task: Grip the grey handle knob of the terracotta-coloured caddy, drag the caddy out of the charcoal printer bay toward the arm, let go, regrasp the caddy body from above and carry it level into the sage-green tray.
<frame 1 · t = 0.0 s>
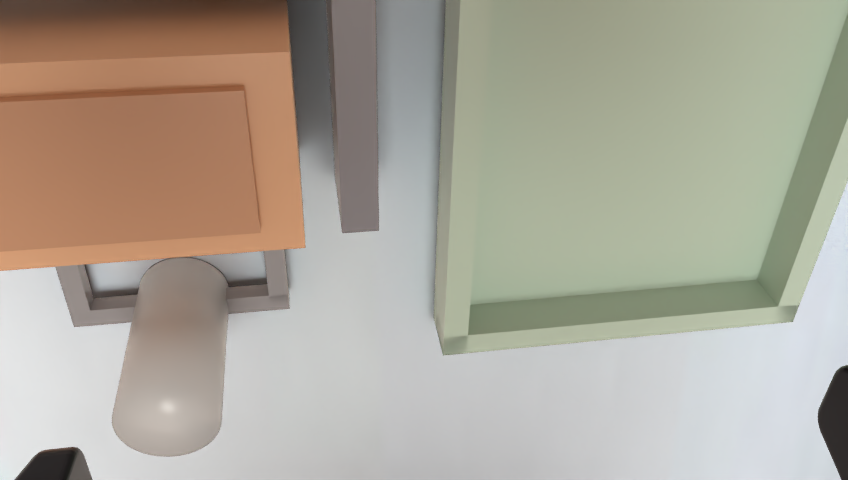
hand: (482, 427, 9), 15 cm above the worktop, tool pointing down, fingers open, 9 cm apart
tray: (645, 99, 24), on the worktop
caddy: (141, 74, 21), on the worktop
printer bay: (138, 58, 21), on the worktop
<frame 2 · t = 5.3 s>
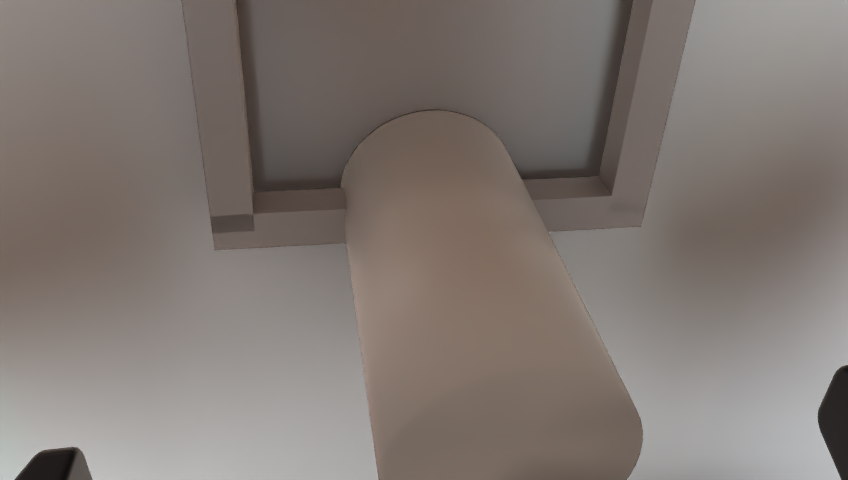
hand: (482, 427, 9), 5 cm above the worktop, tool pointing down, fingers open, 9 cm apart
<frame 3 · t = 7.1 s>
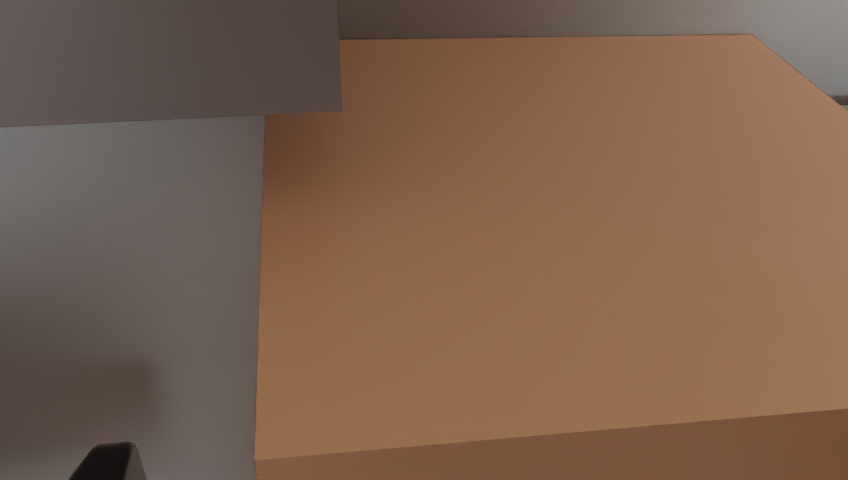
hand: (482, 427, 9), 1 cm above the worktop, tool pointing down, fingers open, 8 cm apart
caddy: (484, 332, 10), on the worktop, touching gripper
printer bay: (11, 386, 10), on the worktop
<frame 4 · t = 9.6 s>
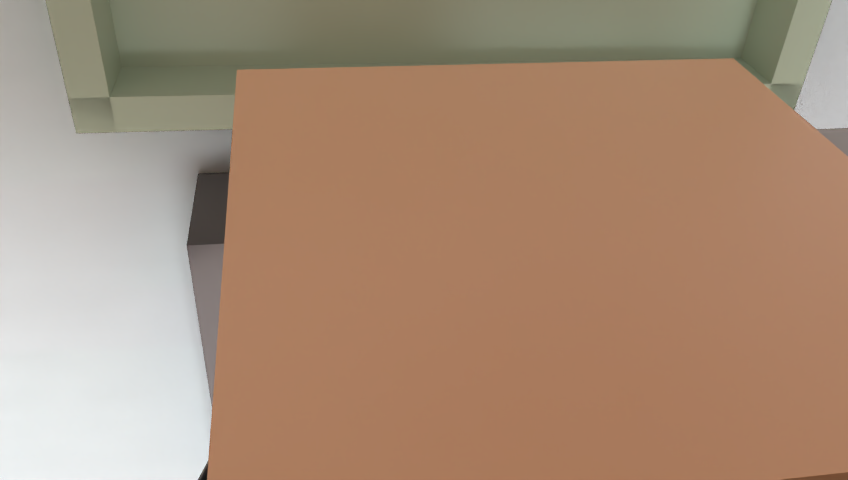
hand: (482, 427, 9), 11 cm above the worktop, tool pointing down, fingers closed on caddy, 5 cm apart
caddy: (466, 359, 10), point 10 cm above the worktop, touching gripper
printer bay: (360, 343, 24), on the worktop
when the fingers open (3 cm above the worktop, at t = 11.9 s): caddy drops 2 cm, resting on tray.
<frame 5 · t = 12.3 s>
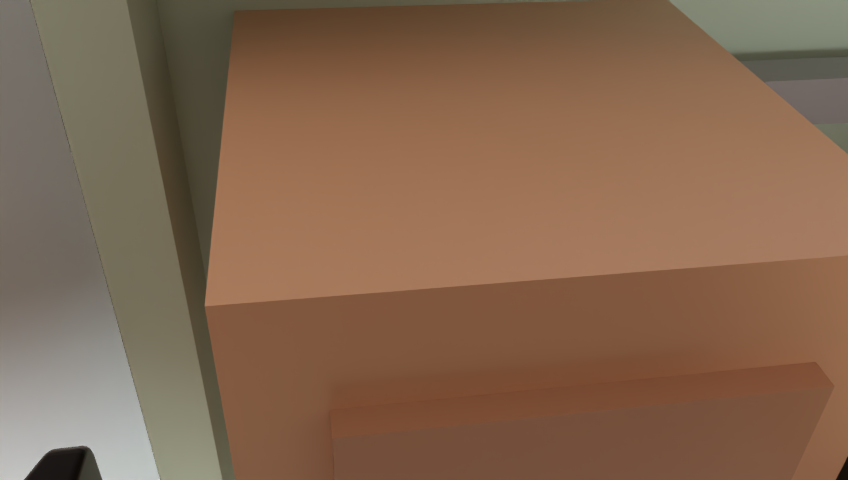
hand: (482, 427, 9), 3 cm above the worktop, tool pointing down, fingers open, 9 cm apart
tray: (691, 249, 12), on the worktop
caddy: (444, 278, 11), resting on tray, touching gripper
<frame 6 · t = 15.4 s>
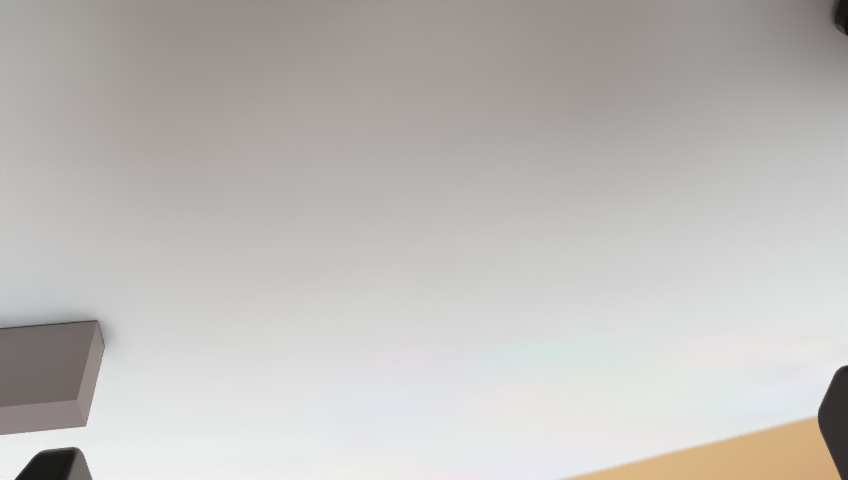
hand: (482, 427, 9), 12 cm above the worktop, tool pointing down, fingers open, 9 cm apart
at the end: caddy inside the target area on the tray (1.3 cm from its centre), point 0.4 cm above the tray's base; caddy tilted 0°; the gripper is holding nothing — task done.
